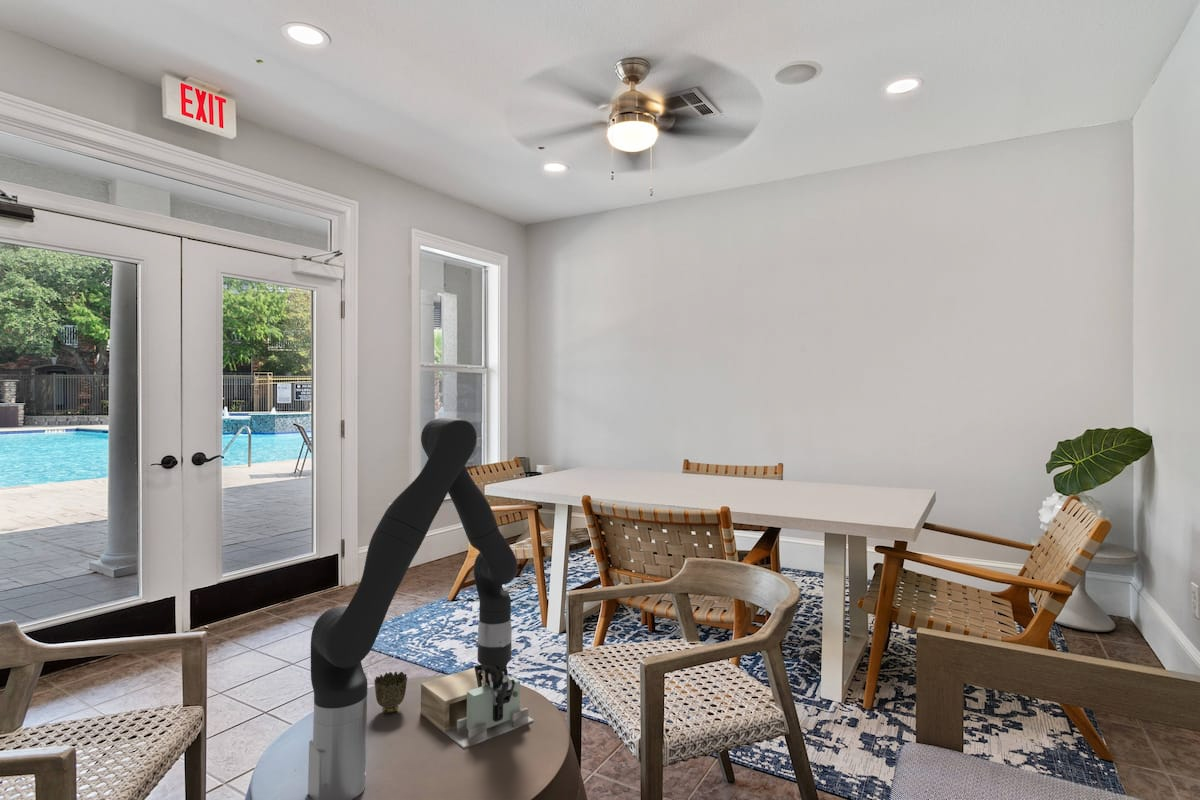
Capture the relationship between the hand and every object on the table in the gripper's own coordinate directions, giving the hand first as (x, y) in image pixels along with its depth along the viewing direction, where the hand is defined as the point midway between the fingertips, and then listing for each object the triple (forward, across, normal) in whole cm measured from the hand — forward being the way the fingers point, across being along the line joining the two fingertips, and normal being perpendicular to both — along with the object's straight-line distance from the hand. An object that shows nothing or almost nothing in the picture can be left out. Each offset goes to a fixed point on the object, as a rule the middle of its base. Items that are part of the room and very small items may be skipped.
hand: (493, 716), depth 138 cm
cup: (+3, -23, -14) cm, 27 cm away
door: (+1, 0, 0) cm, 1 cm away
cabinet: (+3, -7, 0) cm, 8 cm away
